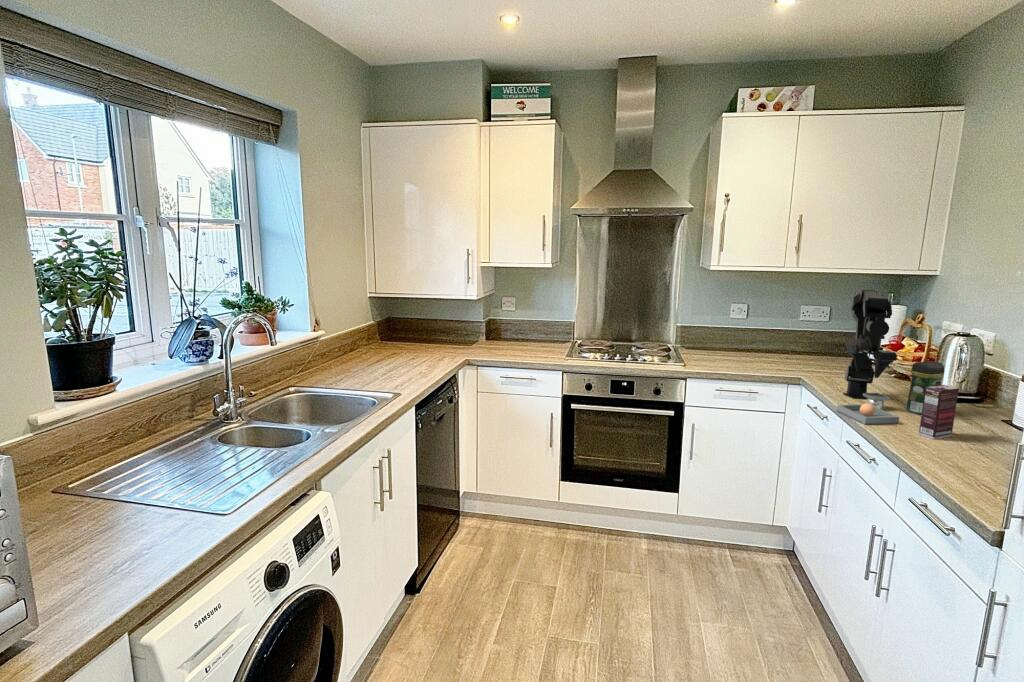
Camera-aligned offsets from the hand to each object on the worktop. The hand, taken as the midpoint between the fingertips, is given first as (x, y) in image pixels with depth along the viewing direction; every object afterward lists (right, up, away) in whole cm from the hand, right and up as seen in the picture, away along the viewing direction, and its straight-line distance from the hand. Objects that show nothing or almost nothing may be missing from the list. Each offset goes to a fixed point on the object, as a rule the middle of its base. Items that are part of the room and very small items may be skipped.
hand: (866, 374), depth 197 cm
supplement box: (+4, -18, -26) cm, 32 cm away
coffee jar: (+18, -14, -2) cm, 23 cm away
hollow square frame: (+4, -12, +2) cm, 13 cm away
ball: (-6, -14, -9) cm, 18 cm away
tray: (-6, -14, -9) cm, 18 cm away
